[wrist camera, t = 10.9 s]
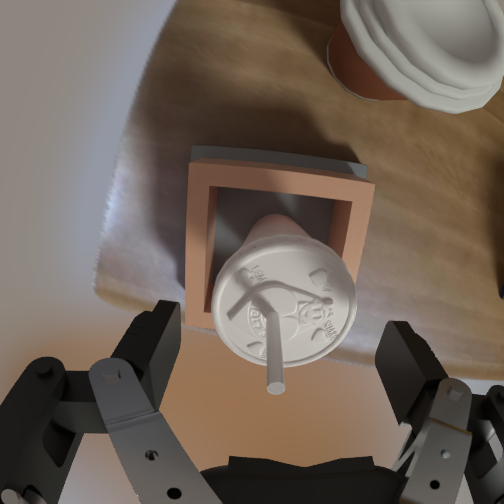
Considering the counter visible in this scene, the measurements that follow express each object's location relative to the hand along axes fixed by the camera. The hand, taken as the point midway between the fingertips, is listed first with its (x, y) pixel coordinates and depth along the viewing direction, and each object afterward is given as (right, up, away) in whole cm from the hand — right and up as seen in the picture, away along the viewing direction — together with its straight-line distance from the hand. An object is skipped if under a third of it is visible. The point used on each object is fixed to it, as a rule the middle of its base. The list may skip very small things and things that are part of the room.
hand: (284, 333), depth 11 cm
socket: (0, +5, +12) cm, 13 cm away
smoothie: (0, +4, +11) cm, 12 cm away
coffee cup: (+7, +17, +7) cm, 20 cm away
